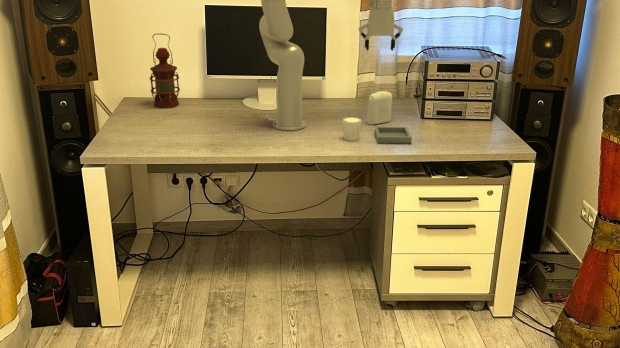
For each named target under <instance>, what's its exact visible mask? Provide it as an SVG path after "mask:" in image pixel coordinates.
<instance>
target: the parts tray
mask: <svg viewBox="0 0 620 348" xmlns="http://www.w3.org/2000/svg"><path fill="white" fill-rule="evenodd" d="M374 136H375V139H376V143H377V145H384V144H385V145H412V138H413V137H412V135H411V133H410V130H409V129H408V127H407V126H374Z"/></svg>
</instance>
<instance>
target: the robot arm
mask: <svg viewBox="0 0 620 348" xmlns="http://www.w3.org/2000/svg"><path fill="white" fill-rule="evenodd" d="M260 4H261V7H262V12H263V15H262V16H261V18H260V19H259V25H258V26H259V32H260V37H261V38H262V39H261V40H262V42H263V46H264V48H265V51H266V54H267V56H268V58H269V60H270V61H271V62H272V63H274V64H275V65H277V66H278V70H277V75H276V113H275V114H265V115H264V116H265V121H268V122H273V123H272V126H273V128H275V129H277V130H282V131H299V130H302V129H304V128H305V127H306V126H307V123H306V121H305V120H303V72H304V71H303V70H304V66H305V55H304V51H303V49H302V48H301V47H300V46H299V45H297V44H295V43H293V42H291V41H289V40H290V39H291V38H292V37H293V35H294V27H293V26H294V25H293V23H292V19H291V17H290V13H289V10H288V7H287V3H286V0H260ZM367 5H368V6H370V7H371V8H369V13H368V19H367V23H365V24H364V25H361V26H359V27H358V31H359V34H360V36H361V37H362V38H363V39H364V48H365V49H366V51H369V50H370V39H369V38H371V36H373V37H378V36H379V37H391V39H390V51H392V52H393V51H394V49H395V48H396V40H397V39H398V38H400V36H401V35H402V32H403V31H404V28H403V27H401V26H399V25H397V23H396V24H395V11H394V8H392V5H393V0H371V1H368V4H367ZM366 29H367V33H366V34H365V33H364V30H366ZM395 29H396V30H398V31H397V32H396V33H395Z"/></svg>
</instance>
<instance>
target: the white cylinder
mask: <svg viewBox="0 0 620 348" xmlns="http://www.w3.org/2000/svg"><path fill="white" fill-rule="evenodd" d="M361 127H362V119H361V118H358V117H352V116H351V117H349V116H348V117H344V118H343V119H342V133H343V139H344V140H346V141H353V142H354V141H359V139H360V135H361V134H360V133H361Z"/></svg>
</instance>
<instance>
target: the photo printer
mask: <svg viewBox="0 0 620 348" xmlns="http://www.w3.org/2000/svg"><path fill="white" fill-rule="evenodd" d="M392 106H393V95H392V93H391V92H389V91H385V90H384V91H383V90H380V91H377V92H376V91H375V92H373V93H372V94H370V95H369V96H368V100H367V113H366V114H367V115H366V123H367V124H368V125H370V126H371V125H377V124H384V123H388V122H389V123H390V122H391V120H392V109H393V108H392Z"/></svg>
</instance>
